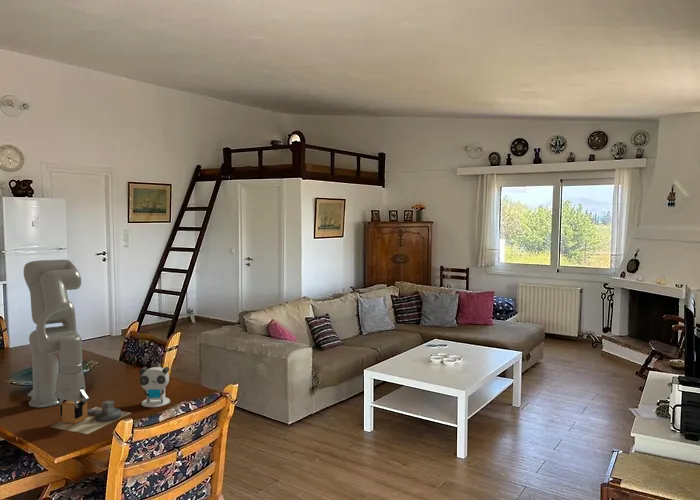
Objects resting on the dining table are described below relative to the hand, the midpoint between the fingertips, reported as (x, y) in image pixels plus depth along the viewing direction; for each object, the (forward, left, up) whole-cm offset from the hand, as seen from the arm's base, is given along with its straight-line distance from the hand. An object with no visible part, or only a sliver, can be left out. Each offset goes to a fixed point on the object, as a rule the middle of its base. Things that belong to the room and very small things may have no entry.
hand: (71, 415), depth 200 cm
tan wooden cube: (0, +2, -2) cm, 3 cm away
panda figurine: (+13, +31, -4) cm, 34 cm away
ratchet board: (+5, +5, -4) cm, 8 cm away
